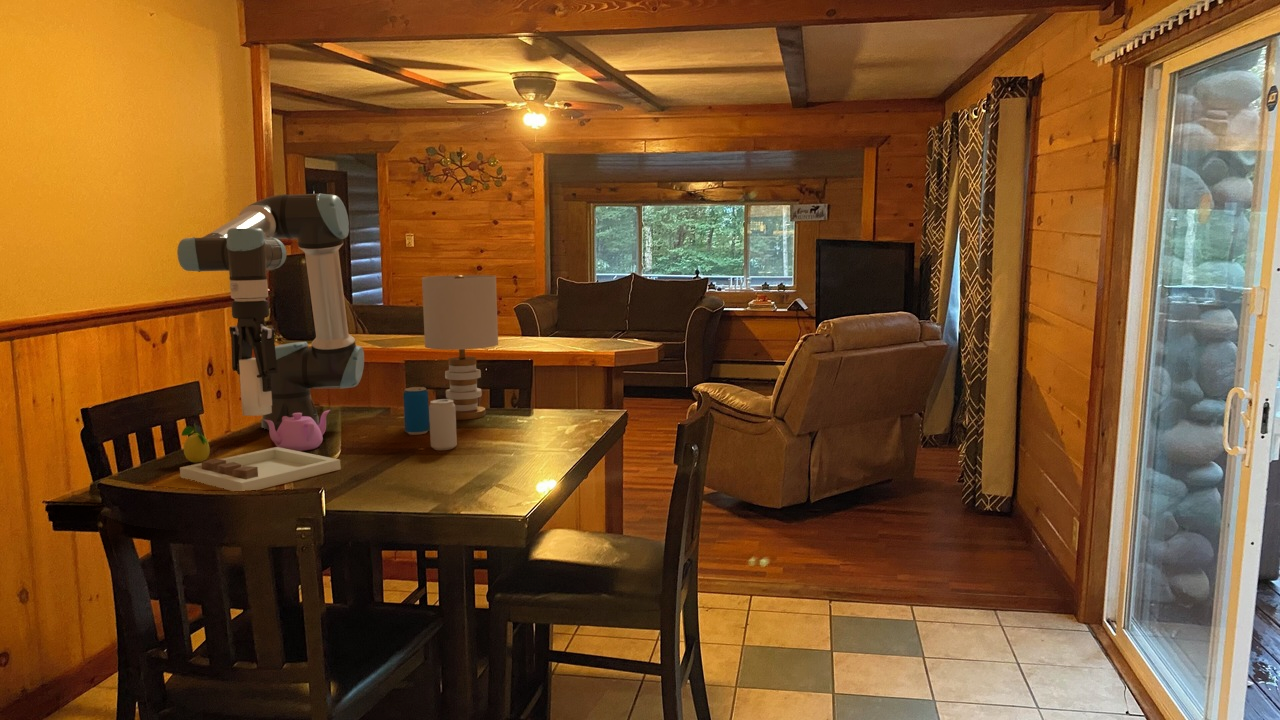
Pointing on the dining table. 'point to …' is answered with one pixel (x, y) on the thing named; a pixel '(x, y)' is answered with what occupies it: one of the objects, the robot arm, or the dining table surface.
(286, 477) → the tray
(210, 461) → the walnut cube
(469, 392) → the lamp
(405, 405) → the beverage can
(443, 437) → the beverage can
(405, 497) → the dining table surface
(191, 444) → the lemon
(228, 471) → the walnut cube
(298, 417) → the teapot
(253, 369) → the white rounded tapered cylinder
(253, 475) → the walnut cube
